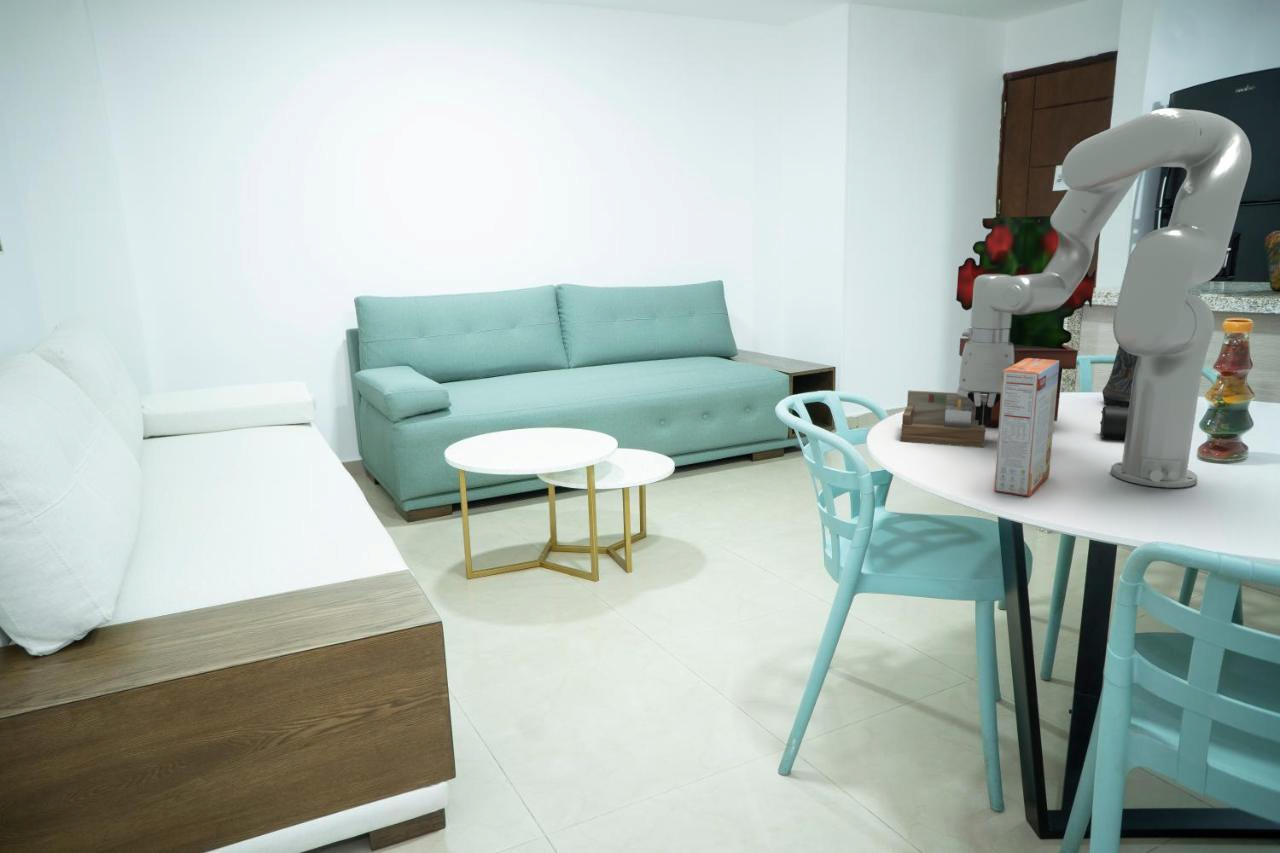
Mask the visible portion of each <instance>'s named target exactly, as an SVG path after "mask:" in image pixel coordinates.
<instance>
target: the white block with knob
mask: <svg viewBox="0 0 1280 853" xmlns="http://www.w3.org/2000/svg"><path fill="white" fill-rule="evenodd" d="M971 413H972V406H961V399H958V406H954V405H947V406H946V410H945V425H944V427H950V428H965V429H970V426H971Z"/></svg>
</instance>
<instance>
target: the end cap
mask: <svg viewBox="0 0 1280 853" xmlns="http://www.w3.org/2000/svg"><path fill="white" fill-rule="evenodd" d="M1100 412H1101V420H1100V422H1099V424H1100V430H1099V435H1100V437H1101V436H1102V437H1101V438H1102V439H1107V438H1109V439H1110V440H1124V441H1125V436H1126V428H1127V420H1128V412H1129V408H1123V407H1119V406H1110V405H1109V406H1105V405H1104V406H1103V407H1102V410H1101V411H1100Z"/></svg>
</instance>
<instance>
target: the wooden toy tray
mask: <svg viewBox="0 0 1280 853" xmlns="http://www.w3.org/2000/svg"><path fill="white" fill-rule="evenodd" d="M958 399H961V406H972V413H971V426H970V429H965V428H950V427H944V425H945V410H946V406H947V405H954V406H958ZM981 401H982V402H983V405H985V404H986V402H987V394H981ZM906 402H907V403H906V407H905V409H904V412H903V414H902V419H901V420H902V424H901V433H900V442H902V443H903V442H905V443H918V444H919V443H920V444H930V443H934V444H933V445H943V444H951V445H950V446H956V445H962V446H961V447H969V446H973V447H972V448H982V447H984V448H985V438H986V437H985V435H986V429H985V427H986V426H984V425H983V418H982V425H978V422H979V420H975V414H976V405H975V404H974V403H973V402H972V401H971V400H970V399H969V398H968V397H965V396H961V395H958V394H957V392H949V391H948V392H947V391H946V392H945V391H932V390H931V391H929V390H927V391H926V390H913V389H911V390H910V389H909V390H908V391H907V401H906ZM983 416H984V406H983Z"/></svg>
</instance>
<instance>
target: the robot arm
mask: <svg viewBox="0 0 1280 853" xmlns="http://www.w3.org/2000/svg"><path fill="white" fill-rule="evenodd" d="M1251 164H1252V147H1251V143H1250V140H1249V138H1248V136H1247V134H1246V133H1245V132H1244V130H1243V129H1242V128H1241V127H1240V126H1239V125H1237V124H1236V123H1235V122H1233V121H1232V120H1230V119H1228V118H1226V117H1224V116H1223V115H1222V116H1221V115H1219V114H1217V113H1213V112H1210V111H1205V110H1198V109H1185V108H1176V107H1175V108H1174V107H1166V108H1159V109H1154V110H1152V111H1149V112H1146V113H1143V114H1141V115H1139V116H1136V117H1133V118H1131V119H1130V120H1127V121H1125V122H1123V123H1120V124H1118V125H1115V126H1113V127H1111V128H1108V129H1106V130H1104V131H1101V132H1099V133H1097V134H1094V135H1092V136H1090V137H1088V138H1086V139H1084V140H1082V141H1080V142H1079V143H1078V144H1076V145H1075V146H1074V147H1072V148H1071V150H1070V151H1068V153H1067V155H1066V156H1065V158H1064V160H1063V162H1062V168H1061V175H1062V176H1061V177H1062V180H1063V183H1064V184H1065V185H1066V186H1067V187H1068V189H1067V191H1066V193H1065V194H1064V197H1062V199H1061V201H1060V202H1059V204H1058V205H1057V207H1056V208H1055V209H1054V212H1053V213H1052V214H1051V215H1050V216H1051V219H1050V223H1051V226H1052V227H1053V229H1054V230H1055V231H1056V232H1057V234H1058V246H1057V249H1056V251H1055V253H1054V255H1053V257H1052V259H1051V260H1050V262H1049V263H1048V265H1047V266H1046V268H1045V269H1044V271H1043V272H1042V273H1040V274H1029V275H1019V276H1010V275H1006V274H984V275H980V276H978V277H977V278H976V279H975V281H974V288H973V301H972V308H971V313H970V314H971V315H970V316H971V317H970V327H969V328H968V329H967V328H966V329H962V334H961V335H962V337H965V338H970V339H969V341H968V342H966V343H965V346H964V349H963V354H962V357H961V361H960V368H959V378H958V388H957V391H956V393H957V394H958V395H961V396H965V397H968V398H969V399H970V400H971V401H972V402H973V403H974V404H975V405H976V414H975V420H979V422H978V425H982V418H983V425H984V426H985V427H987V426H986V425H987V421H991V410H992V406H993V405H994V404H996V403H997V402H998V401H999V400H1001V387H1002V372H1003V370H1005V369H1007V368H1009V367H1011V366H1013V365H1014V364H1015V354H1014V345H1013V343H1010V333H1011V322H1012V314H1015V315H1026V314H1033V313H1040V312H1048V311H1052V310H1055V309H1057V308H1059V307H1060V306H1061V305H1063V304H1064V303H1065V302H1066V301H1067V300H1068V299H1069V297H1070V296H1071V295H1072V293H1073V292H1074V291H1075V289H1076V288H1077V286H1078V285H1079V284H1080V282H1081V281H1082V279H1083V278H1084V276H1085V275H1086V273H1087V272H1088V271H1089V268H1090V266H1091V263H1092V259H1093V255H1094V252H1095V245H1096V244H1095V243H1096V240H1097V237H1098V236H1099V235H1100V233H1101V232H1102V230H1103V228H1104V227H1105V226H1106V224H1107V223H1108V222H1109V220H1110V219H1111V217H1112V216H1113V214H1114V212H1115V211H1116V210H1117V209H1118V207H1119V205H1120V204H1121V202H1123V200H1124V198H1125V197H1126V195H1127V194H1128V193H1129V191H1130V189H1131V188H1132V186H1133V185H1134V183H1135V182H1136V180H1137V179H1138V178H1139V176H1140V174H1141V173H1142V172H1146V171H1147V170H1151V169H1154V168H1158V167H1163V168H1164V167H1166V168H1167V167H1168V168H1183V169H1184V170H1186V177H1185V179H1184V181H1183V182H1182V184H1181V186H1180V187H1179V189H1178V192H1177V193H1176V196H1175V199H1174V203H1173V208H1172V212H1171V216H1170V218H1169V221H1168V225H1167V226H1165V227H1164V226H1163V227H1160V228H1157V229H1154V230H1153V231H1151V232H1148V233H1147V234H1146V235H1144V236H1143V237H1142V238H1141V239H1140V240H1139V241H1137V244H1136V245H1135V246H1134V248H1133V249H1132V251H1131V253H1130V255H1129V258H1128V260H1127V264H1126V268H1125V270H1124V274H1123V277H1122V278H1123V279H1122V283H1121V287H1120V291H1119V296H1118V299H1117V302H1116V307H1115V312H1114V317H1113V322H1112V325H1113V326H1112V327H1113V328H1112V330H1113V331H1112V332H1113V335H1114V339H1115V340H1116V341H1115V342H1116V343H1117V345H1118V347H1119V346H1120V347H1121V348H1122V349H1123V350H1125V351H1126V352H1128V353H1130V354H1133V355H1136V356H1139V357H1138V360H1137V363H1136V366H1135V370H1134V375H1133V382H1132V388H1131V396H1130V404H1129V412H1128V420H1127V428H1126V436H1125V440H1124V446H1123V454H1122V460H1121V461H1119V462H1115V463H1114V464H1112V465H1111V467H1110V473H1111V474H1112V476H1114V477H1115V478H1118V479H1120V480H1122V481H1125V482H1129V483H1133V484H1136V485H1141V486H1149V487H1155V488H1166V489H1167V488H1168V489H1170V488H1173V489H1174V488H1175V489H1176V488H1177V489H1179V488H1181V489H1182V488H1187V487H1191V486H1194V485H1196V484H1197V482H1198V476H1197V473H1195V472H1193V471H1191V470H1190V469H1189V468H1188V467H1189V460H1190V454H1191V448H1192V443H1193V442H1192V440H1193V434H1194V428H1195V427H1194V426H1195V420H1196V414H1197V406H1198V400H1199V394H1200V388H1201V381H1202V374H1203V370H1204V364H1205V361H1206V357H1207V353H1208V351H1209V348H1210V344H1211V341H1212V339H1213V335H1214V329H1215V317H1214V313H1213V311H1212V309H1211V307H1210V306H1209V304H1208V303H1207V302H1206V301H1205V300H1204V299H1202V298H1200V297H1199V296H1197V295H1195V294H1194V295H1193V294H1191V293H1189V288H1190V287H1193V286H1198V285H1201V284H1205V283H1207V282H1209V281H1211V280H1212V279H1214V278H1215V277H1216V275H1218V274H1219V272H1220V271H1221V269H1222V267H1223V265H1224V263H1225V259H1226V255H1227V252H1228V249H1229V244H1230V241H1231V238H1232V234H1233V230H1234V227H1235V223H1236V219H1237V216H1238V213H1239V212H1238V211H1239V207H1240V204H1241V200H1242V197H1243V192H1244V190H1245V186H1246V184H1247V181H1248V176H1249V173H1250V170H1251V169H1250V168H1251ZM981 393H989V397H988V401H987V402H986V404H985V405H983V402H982V401H981ZM996 393H997V394H996ZM983 406H984V416H983Z"/></svg>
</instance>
